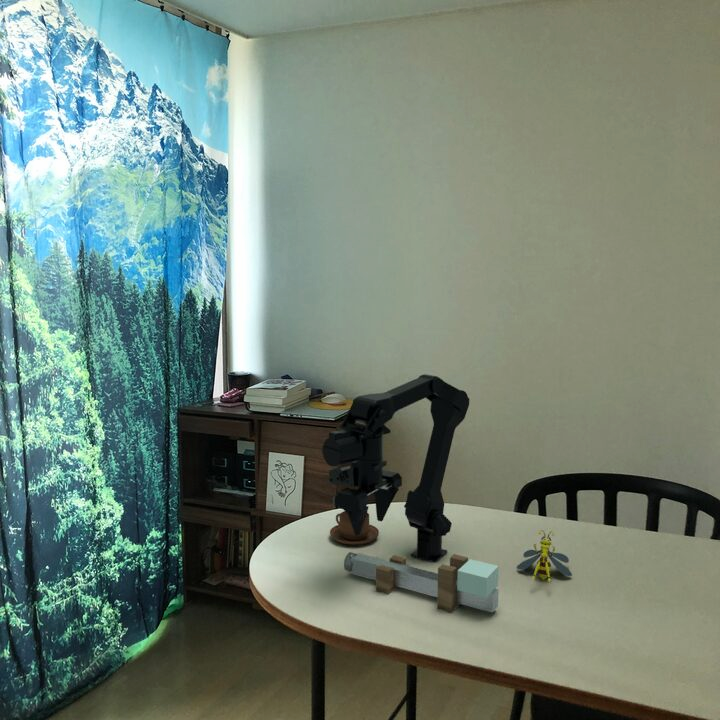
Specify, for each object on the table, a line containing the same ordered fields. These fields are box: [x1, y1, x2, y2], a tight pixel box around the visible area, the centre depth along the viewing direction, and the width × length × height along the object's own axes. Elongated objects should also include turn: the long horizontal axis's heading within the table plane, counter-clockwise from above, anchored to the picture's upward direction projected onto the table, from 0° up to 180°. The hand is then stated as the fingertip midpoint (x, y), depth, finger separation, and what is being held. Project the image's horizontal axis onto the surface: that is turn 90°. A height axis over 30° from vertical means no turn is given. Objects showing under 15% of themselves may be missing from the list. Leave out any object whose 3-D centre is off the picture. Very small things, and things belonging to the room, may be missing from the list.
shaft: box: [343, 551, 500, 614], centre depth 145 cm, size 4×34×4 cm, turn 58°
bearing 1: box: [375, 554, 407, 596], centre depth 148 cm, size 8×3×5 cm, turn 148°
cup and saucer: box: [329, 510, 380, 546], centre depth 173 cm, size 12×12×6 cm
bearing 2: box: [436, 553, 469, 613], centre depth 141 cm, size 8×3×8 cm, turn 148°
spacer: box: [457, 558, 499, 598], centre depth 138 cm, size 6×6×4 cm
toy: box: [516, 529, 573, 583], centre depth 151 cm, size 12×8×15 cm
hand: (369, 527), depth 150 cm, fingers open, 9 cm apart
